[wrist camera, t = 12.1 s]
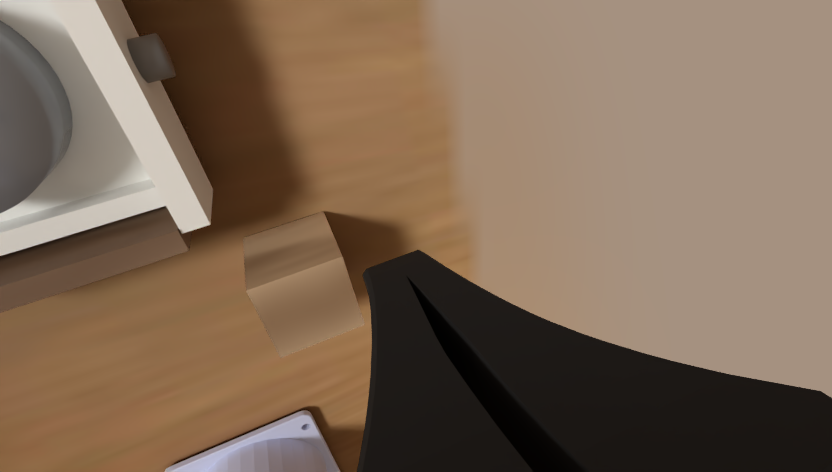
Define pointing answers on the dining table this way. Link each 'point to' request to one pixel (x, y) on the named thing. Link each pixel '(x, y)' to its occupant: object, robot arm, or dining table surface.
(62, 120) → the grey dome
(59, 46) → the white drawer
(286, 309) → the wooden block
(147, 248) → the open square box
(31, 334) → the dining table surface
